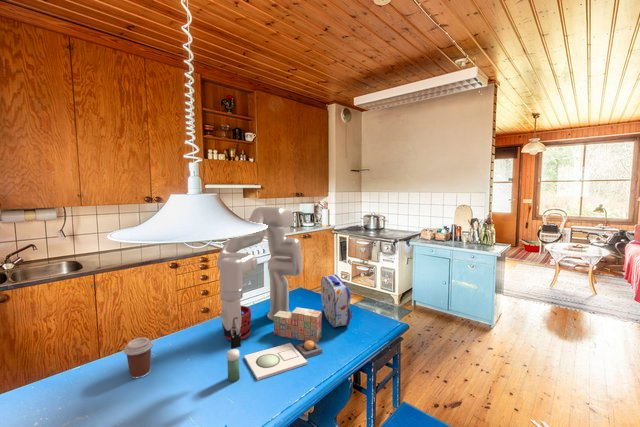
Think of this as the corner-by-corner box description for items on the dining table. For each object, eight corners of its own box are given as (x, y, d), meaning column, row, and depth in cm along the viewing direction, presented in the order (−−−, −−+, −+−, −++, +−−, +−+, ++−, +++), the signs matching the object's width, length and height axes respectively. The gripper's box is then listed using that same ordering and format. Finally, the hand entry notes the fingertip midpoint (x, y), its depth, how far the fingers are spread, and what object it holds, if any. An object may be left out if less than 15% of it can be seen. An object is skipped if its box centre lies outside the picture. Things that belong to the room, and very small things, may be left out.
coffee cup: (123, 383, 108) (121, 351, 106) (127, 369, 116) (125, 338, 115) (153, 377, 112) (151, 345, 110) (154, 363, 120) (153, 333, 119)
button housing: (296, 348, 131) (296, 345, 131) (313, 343, 135) (313, 340, 135) (305, 358, 124) (305, 354, 124) (322, 352, 128) (322, 349, 128)
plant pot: (245, 326, 150) (245, 302, 149) (255, 338, 139) (255, 312, 138) (218, 333, 143) (217, 308, 142) (226, 346, 132) (225, 319, 131)
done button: (302, 346, 130) (302, 341, 130) (311, 343, 132) (311, 339, 132) (307, 350, 126) (307, 346, 126) (315, 348, 128) (315, 343, 128)
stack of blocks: (273, 335, 143) (273, 309, 141) (279, 328, 148) (279, 304, 147) (316, 343, 135) (316, 316, 134) (321, 337, 141) (321, 310, 140)
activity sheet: (244, 357, 124) (244, 355, 124) (290, 345, 134) (290, 342, 134) (257, 380, 110) (257, 377, 110) (307, 364, 120) (307, 361, 120)
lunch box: (354, 330, 147) (355, 285, 145) (334, 333, 144) (334, 287, 142) (336, 307, 173) (337, 269, 171) (318, 309, 171) (318, 270, 168)
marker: (226, 377, 112) (225, 351, 111) (238, 373, 114) (237, 347, 113) (229, 384, 108) (228, 356, 107) (241, 380, 110) (240, 353, 109)
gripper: (215, 288, 113) (216, 333, 115) (226, 304, 98) (227, 355, 100) (235, 285, 117) (236, 329, 118) (249, 299, 102) (250, 349, 103)
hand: (232, 341), depth 109 cm, fingers open, 9 cm apart
